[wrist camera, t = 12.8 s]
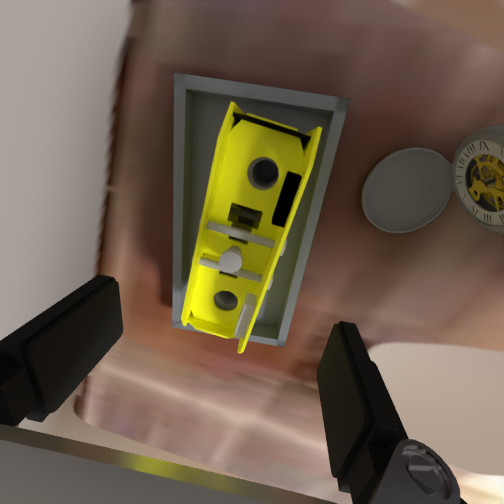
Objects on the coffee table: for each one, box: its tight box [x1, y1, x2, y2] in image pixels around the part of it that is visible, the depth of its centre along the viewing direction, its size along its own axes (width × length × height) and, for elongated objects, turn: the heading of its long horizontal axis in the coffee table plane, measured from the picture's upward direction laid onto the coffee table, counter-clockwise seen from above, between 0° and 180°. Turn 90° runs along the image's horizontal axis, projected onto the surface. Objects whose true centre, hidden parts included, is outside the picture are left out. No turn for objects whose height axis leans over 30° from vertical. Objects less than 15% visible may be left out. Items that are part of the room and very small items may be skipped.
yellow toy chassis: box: [181, 101, 322, 353], centre depth 17 cm, size 16×6×8 cm, turn 164°
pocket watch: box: [361, 124, 504, 233], centre depth 15 cm, size 8×8×10 cm
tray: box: [172, 72, 350, 347], centre depth 21 cm, size 12×22×2 cm, turn 172°
